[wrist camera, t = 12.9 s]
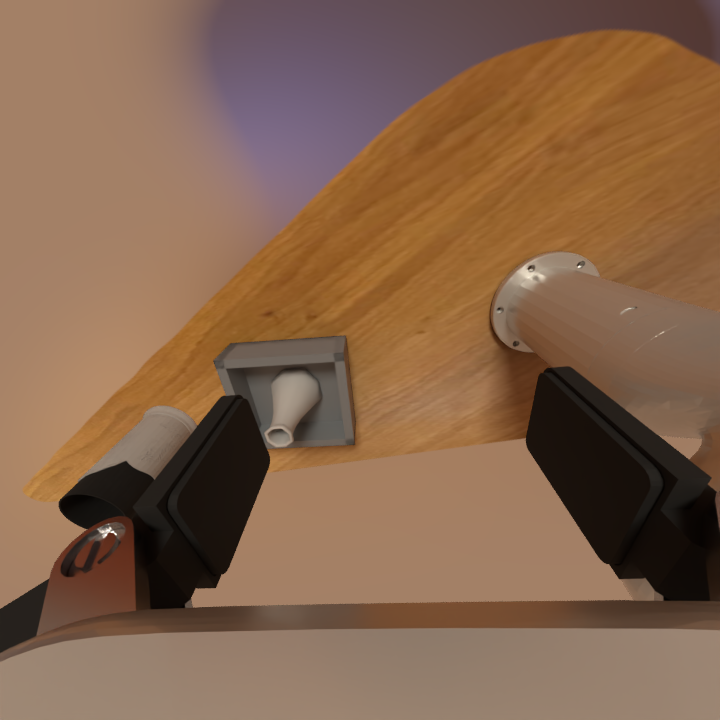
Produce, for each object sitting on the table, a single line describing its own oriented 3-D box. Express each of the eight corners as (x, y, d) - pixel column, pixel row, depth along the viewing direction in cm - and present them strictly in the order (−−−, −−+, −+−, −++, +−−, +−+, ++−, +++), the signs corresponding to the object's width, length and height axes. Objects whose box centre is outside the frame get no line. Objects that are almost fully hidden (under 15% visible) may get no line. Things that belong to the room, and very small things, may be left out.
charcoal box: (345, 335, 38) (343, 352, 33) (355, 421, 45) (354, 444, 41) (230, 343, 39) (213, 360, 34) (258, 426, 46) (246, 449, 41)
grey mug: (164, 396, 43) (76, 479, 30) (234, 451, 49) (185, 542, 35) (132, 422, 46) (37, 508, 33) (201, 471, 51) (144, 562, 38)
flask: (289, 414, 43) (269, 466, 34) (262, 377, 40) (233, 425, 31) (330, 398, 42) (321, 449, 33) (306, 359, 39) (289, 404, 30)
